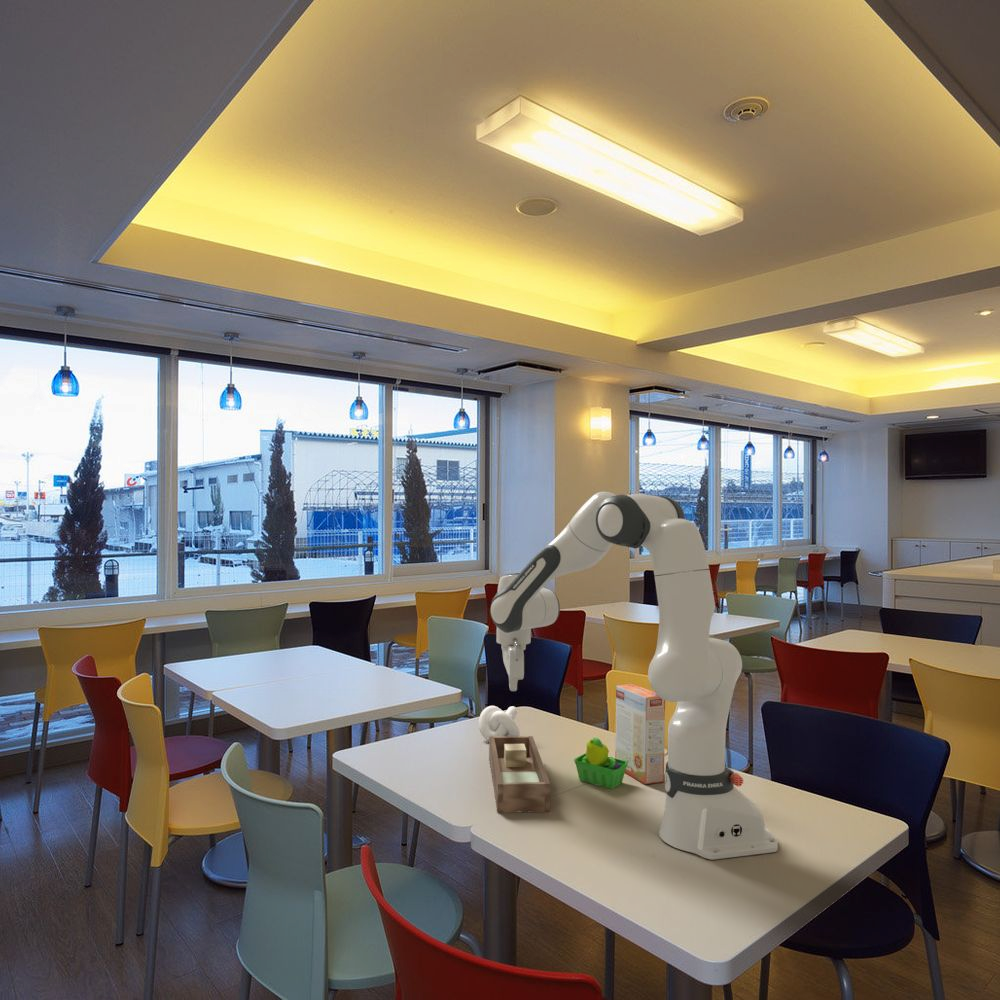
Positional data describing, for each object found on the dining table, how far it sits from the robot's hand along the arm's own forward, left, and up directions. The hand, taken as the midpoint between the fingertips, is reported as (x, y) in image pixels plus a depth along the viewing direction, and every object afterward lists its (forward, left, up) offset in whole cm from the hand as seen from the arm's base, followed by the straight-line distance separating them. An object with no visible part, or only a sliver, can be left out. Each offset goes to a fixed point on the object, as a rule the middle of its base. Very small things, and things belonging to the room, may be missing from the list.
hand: (513, 689), depth 188 cm
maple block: (0, +8, -16) cm, 18 cm away
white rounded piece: (+1, -22, -19) cm, 29 cm away
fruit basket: (-20, +13, -19) cm, 31 cm away
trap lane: (0, +13, -19) cm, 23 cm away
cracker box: (-31, +8, -19) cm, 37 cm away
